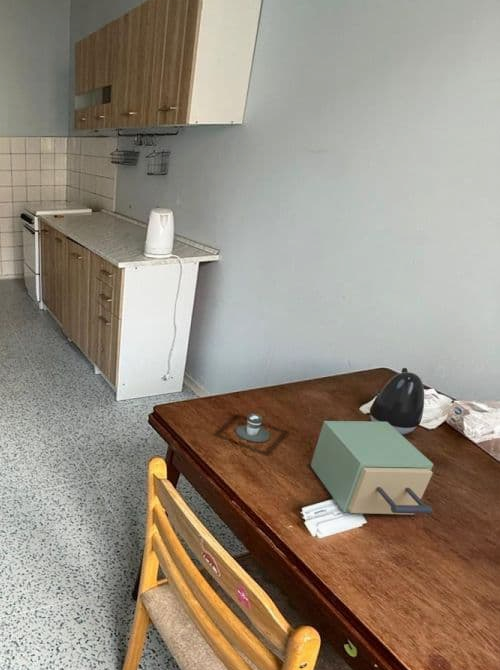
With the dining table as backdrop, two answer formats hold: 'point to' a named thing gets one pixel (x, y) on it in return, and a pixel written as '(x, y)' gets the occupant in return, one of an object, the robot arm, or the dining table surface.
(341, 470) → the cabinet
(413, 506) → the drawer
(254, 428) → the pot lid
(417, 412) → the black bell
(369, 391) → the dining table surface
